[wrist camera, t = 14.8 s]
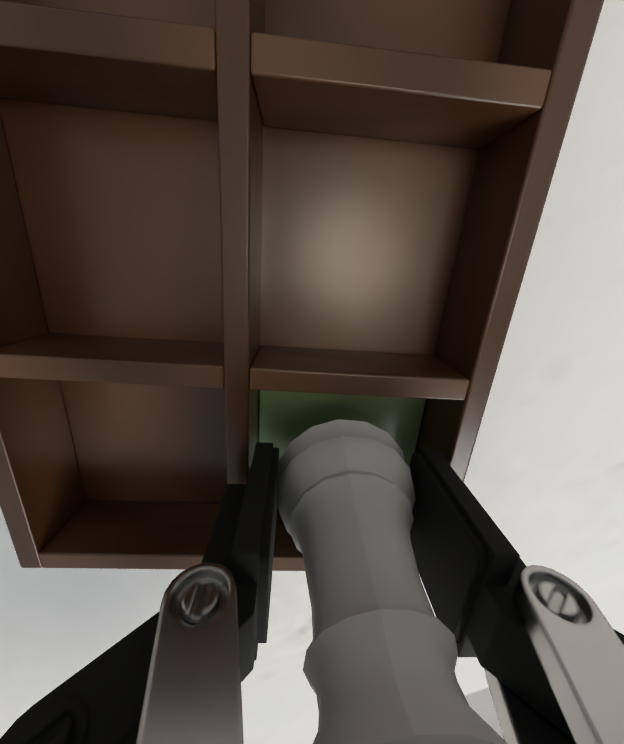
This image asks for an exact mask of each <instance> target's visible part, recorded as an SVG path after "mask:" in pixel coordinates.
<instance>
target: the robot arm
mask: <svg viewBox="0 0 624 744" xmlns="http://www.w3.org/2000/svg"><path fill="white" fill-rule="evenodd" d="M409 468H410V471H411V476H412V481H413V485H414V491H415V498H416V499H415V503H414V506H413V510H412V514H413V523H412V526H411V530H410V539H411V544H412V548H413V552H414V556H415V560H416V564H417V568H418V572H419V574H420V577H421V579H422V582H423V584H424V587H425V589H426V592H427V594H428V597H429V599H430V602H431V604H432V607H433V609H434V612H435V614H436V617H437V618H438V619H439V620H440V621H441V622H442V623H443V624H444V625H445V626H446V627H447V628H448V629H449V630H450V631H451V632H452V633H453V634H454V635H455V640H456V646H457V651H458V657H477V658H478V661H479V663H480V665H481V666H482V667H483V668H485V674H486V679H487V682H488V685H489V689H490V692H491V695H492V699H493V703H494V706H495V709H496V713H497V716H498V720H499V723H500V727H501V730H502V734H503V737H504V740H505V741H506V742H507V743H508V744H624V635H623V634H621V633H619V632H618V631H616V630H614V629H613V628H612V627H611V625H610V624H609V622H608V621H607V620H606V618H605V617H604V615H603V614H602V612H601V611H600V609H599V608H598V606H597V605H596V603H595V602H594V601H593V600H592V599H591V597H590V596H589V595H588V594H587V593H586V592H585V591H584V590H583V589H582V588H581V587H580V586H579V585H577V584H576V583H575V582H574V581H572V580H571V579H569V578H568V577H566V576H565V575H563V574H561V573H559V572H557V571H555V570H553V569H550V568H547V567H544V566H536V565H531V566H528V567H526V565H525V564H524V563H523V561H522V560H521V559H520V558H519V557H520V555H519V554H518V553H517V551H516V550H515V549H514V548H513V546H512V545H511V544H510V542H509V541H508V540H507V538H506V537H505V536H504V535H503V533H502V532H501V531H500V529H499V528H498V527H497V525H496V524H495V523H494V522H493V520H492V519H491V518H490V516H489V515H488V514H487V512H486V511H485V510H484V509H483V507H482V506H481V505H480V503H479V502H478V501H477V500H476V498H475V497H474V496H473V494H472V493H471V492H470V490H469V489H468V488H467V487H466V485H465V484H464V483H463V481H462V480H461V479H460V477H459V476H458V475H457V474H456V472H455V471H454V470H453V468H452V467H451V466H450V464H449V463H448V462H447V461H446V459H445V458H444V457H443V455H442V454H441V453H440V451H439V450H438V449H427V448H420V449H418V451H417V452H414V453H413V454H412V457H411V462H410V467H409ZM278 471H279V448H276V447H273V443H262V442H257V443H256V446H255V450H254V455H253V459H252V464H251V468H250V472H249V477H248V481H247V484H227V486H226V488H225V491H224V494H223V497H222V500H221V504H220V507H219V510H218V513H217V516H216V519H215V522H214V525H213V529H212V532H211V535H210V538H209V541H208V544H207V547H206V550H205V553H204V557H203V560H202V563H201V564H197V565H194V566H191V567H190V568H188V569H186V570H185V571H183V572H181V573H180V574H179V575H178V576H177V577H176V578H175V579H174V580H173V581H172V582H171V584H170V585H169V587H168V588H167V590H166V591H165V593H164V596H163V599H162V602H161V607H160V611H159V612H158V613H157V614H155V615H154V616H153V617H151V618H150V619H149V620H147V621H146V622H145V623H143V624H142V625H141V626H139V627H138V628H136V629H135V630H134V631H132V632H131V633H130V634H128V635H127V636H126V637H124V638H123V639H122V640H120V641H119V642H118V643H116V644H115V645H114V646H112V647H111V648H110V649H108V650H107V651H106V652H104V653H103V654H101V655H100V656H99V657H97V658H96V659H95V660H93V661H92V662H91V663H89V664H88V665H87V666H85V667H84V668H83V669H81V670H80V671H79V672H77V673H76V674H75V675H73V676H72V677H71V678H69V679H68V680H66V681H65V682H64V683H62V684H61V685H60V686H58V687H57V688H56V689H54V690H53V691H52V692H50V693H49V694H48V695H46V696H45V697H44V698H42V699H41V700H40V701H38V702H37V703H36V704H34V705H33V706H32V707H31V708H30V709H29V710H27V711H26V712H25V713H24V714H23V715H22V716H20V717H19V718H18V719H17V720H16V721H15V722H14V723H13V725H12V726H11V727H10V728H9V729H8V730H7V732H6V733H5V734H4V735H3V736H2V737H1V739H0V744H243V721H242V698H241V682H242V681H243V680H244V679H245V677H246V676H247V675H248V674H249V673H250V672H251V671H252V670H253V665H254V660H256V657H257V647H258V643H266V641H267V630H268V617H269V605H270V592H271V580H272V567H273V555H274V542H275V530H276V516H277V493H278Z"/></svg>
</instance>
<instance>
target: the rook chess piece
mask: <svg viewBox="0 0 624 744" xmlns="http://www.w3.org/2000/svg"><path fill="white" fill-rule="evenodd" d="M415 499H416V498H415V491H414V485H413V481H412V476H411V471H410V468H409V466H408V465H407V464H406V463H405V460H404V455H403V450H402V449H401V448H400V447H399V445H398V444H397V443H396V442H395V441H394V439H393V438H392V437H391V436H390V434H389V433H388V432H386V431H384V430H382V429H380V428H378V427H376V426H374V425H372V424H370V423H368V422H365V421H353V420H341V419H338V420H334V421H331V422H327V423H323V424H320V425H316V426H312V427H311V428H309V429H308V430H307V431H305V432H304V433H302V434H301V435H300V436H298V437H297V438H295V439H294V440H293V441H291V442H290V444H289V445H288V447H287V449H286V450H285V452H284V454H283V455H282V457H281V459H280V460H279V471H278V493H277V506H278V510H279V513H280V515H281V518H282V520H283V523H284V525H285V528H286V530H287V532H288V533H289V534H290V535H291V536H292V538H293V541H294V543H295V546H296V548H297V549H298V550H299V551H300V552H301V553H302V554H303V560H304V565H305V571H306V577H307V583H308V589H309V595H310V601H311V607H312V625H313V641H312V642H311V644H310V646H309V647H308V649H307V651H306V656H305V662H304V668H303V671H304V673H305V675H306V677H307V679H308V681H309V683H310V686H311V687H312V689H313V690H314V692H315V693H316V695H317V701H318V708H319V727H318V733H317V735H316V738H315V740H314V743H313V744H508V743H507V742H506V741H505V740H504V739H502V738H501V737H500V736H499V735H498V734H497V733H496V732H495V731H494V730H493V729H492V728H491V727H490V726H489V725H488V724H487V723H486V722H485V721H484V720H483V719H482V718H481V717H480V716H479V715H478V714H477V713H476V712H475V711H474V710H473V709H472V708H471V707H470V706H469V704H468V702H467V701H466V698H465V696H464V694H463V692H462V690H461V688H460V686H459V684H458V682H457V679H456V676H455V672H454V670H455V665H456V660H457V656H458V651H457V646H456V640H455V635H454V634H453V633H452V632H451V631H450V630H449V629H448V628H447V627H446V626H445V625H444V624H443V623H442V622H441V621H440V620H439V619H438V618H436V617H435V616H434V613H433V611H432V608H431V606H430V603H429V601H428V598H427V596H426V593H425V591H424V588H423V586H422V583H421V580H420V576H419V572H418V568H417V564H416V560H415V556H414V552H413V548H412V544H411V539H410V530H411V526H412V523H413V514H412V510H413V506H414V503H415Z"/></svg>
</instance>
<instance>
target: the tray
mask: <svg viewBox="0 0 624 744" xmlns="http://www.w3.org/2000/svg"><path fill="white" fill-rule="evenodd" d="M603 2H604V0H0V506H1V509H2V512H3V515H4V518H5V521H6V524H7V527H8V530H9V533H10V536H11V539H12V542H13V545H14V548H15V551H16V553H17V556H18V559H19V562H20V565H21V567H22V568H41V567H44V568H116V569H188V568H190V567H191V566H194V565H197V564H201V563H202V560H203V557H204V553H205V550H206V547H207V544H208V541H209V538H210V535H211V532H212V529H213V525H214V522H215V519H216V516H217V513H218V510H219V507H220V504H221V500H222V497H223V494H224V491H225V488H226V486H227V484H247V481H248V477H249V472H250V468H251V464H252V459H253V455H254V450H255V446H256V443H257V442H262V443H273V447H276V448H279V460H280V459H281V457H282V455H283V454H284V452H285V450H286V449H287V447H288V445H289V444H290V442H291V441H293V440H294V439H295V438H297V437H298V436H300V435H301V434H302V433H304V432H305V431H307V430H308V429H309V428H311V427H312V426H316V425H320V424H323V423H327V422H331V421H334V420H338V419H341V420H353V421H365V422H368V423H370V424H372V425H374V426H376V427H378V428H380V429H382V430H384V431H386V432H388V433H389V434H390V436H391V437H392V438H393V439H394V441H395V442H396V443H397V444H398V445H399V447H400V448H401V449H402V450H403V455H404V460H405V463H406V464H407V465H408V466H409V467H410V462H411V457H412V454H413V453H414V452H417V451H418V449H420V448H427V449H438V450H439V451H440V453H441V454H442V455H443V457H444V458H445V459H446V461H447V462H448V463H449V464H450V466H451V467H452V468H453V470H454V471H455V472H456V474H457V475H458V476H459V477H460V479H461V480H462V481H463V482H464V478H465V475H466V471H467V468H468V465H469V461H470V458H471V454H472V451H473V447H474V444H475V441H476V437H477V434H478V430H479V427H480V424H481V420H482V417H483V413H484V410H485V406H486V403H487V400H488V396H489V393H490V389H491V386H492V382H493V379H494V376H495V372H496V369H497V365H498V362H499V358H500V355H501V352H502V348H503V345H504V341H505V338H506V334H507V331H508V328H509V324H510V321H511V317H512V314H513V310H514V307H515V304H516V300H517V297H518V293H519V290H520V286H521V283H522V280H523V276H524V273H525V269H526V266H527V262H528V259H529V256H530V252H531V249H532V245H533V242H534V239H535V235H536V232H537V228H538V225H539V221H540V218H541V215H542V211H543V208H544V204H545V201H546V197H547V194H548V191H549V187H550V184H551V180H552V177H553V173H554V170H555V167H556V163H557V160H558V156H559V153H560V149H561V146H562V143H563V139H564V136H565V132H566V129H567V125H568V122H569V119H570V115H571V112H572V108H573V105H574V101H575V98H576V95H577V91H578V88H579V84H580V81H581V77H582V74H583V71H584V67H585V64H586V60H587V57H588V53H589V50H590V47H591V43H592V40H593V36H594V33H595V30H596V26H597V23H598V19H599V16H600V12H601V9H602V6H603ZM272 570H276V571H305V565H304V560H303V554H302V553H301V552H300V551H299V550H298V549H297V548H296V546H295V543H294V541H293V538H292V536H291V535H290V534H289V533H288V532H287V530H286V528H285V525H284V523H283V520H282V518H281V515H280V513H279V510H278V506H277V516H276V530H275V542H274V555H273V567H272Z"/></svg>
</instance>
